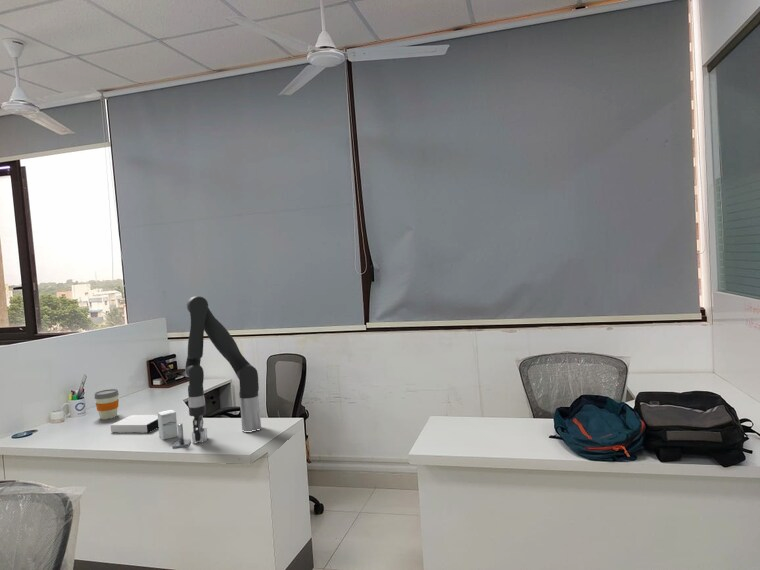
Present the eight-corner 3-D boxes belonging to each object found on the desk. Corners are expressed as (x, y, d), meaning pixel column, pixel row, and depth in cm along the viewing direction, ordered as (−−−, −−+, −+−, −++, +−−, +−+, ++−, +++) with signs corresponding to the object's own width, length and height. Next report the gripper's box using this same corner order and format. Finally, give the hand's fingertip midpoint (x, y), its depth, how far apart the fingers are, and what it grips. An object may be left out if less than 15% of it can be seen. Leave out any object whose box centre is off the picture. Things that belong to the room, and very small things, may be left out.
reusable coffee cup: (124, 413, 313) (122, 388, 312) (112, 419, 301) (109, 394, 300) (105, 414, 314) (102, 389, 314) (91, 420, 302) (89, 395, 301)
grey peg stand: (190, 441, 253) (188, 421, 252) (188, 446, 246) (186, 425, 246) (175, 443, 252) (173, 423, 251) (172, 448, 245) (170, 427, 244)
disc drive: (148, 434, 271) (148, 424, 271) (110, 433, 276) (110, 424, 275) (169, 423, 288) (168, 414, 288) (133, 423, 293) (132, 414, 293)
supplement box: (162, 440, 258) (160, 415, 257) (159, 436, 264) (156, 412, 263) (178, 436, 262) (176, 411, 261) (174, 433, 268) (172, 408, 267)
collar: (207, 437, 257) (206, 427, 257) (205, 441, 251) (204, 431, 251) (194, 439, 256) (193, 429, 255) (192, 443, 250) (191, 433, 250)
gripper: (202, 407, 246) (205, 441, 247) (206, 400, 260) (209, 432, 261) (186, 409, 245) (188, 443, 245) (191, 401, 259) (193, 434, 259)
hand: (199, 437), depth 253 cm, fingers open, 8 cm apart
